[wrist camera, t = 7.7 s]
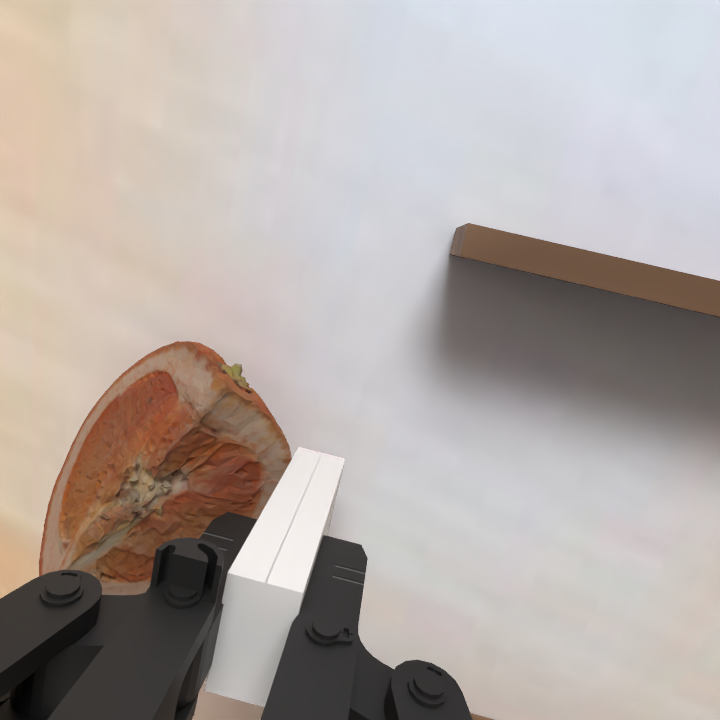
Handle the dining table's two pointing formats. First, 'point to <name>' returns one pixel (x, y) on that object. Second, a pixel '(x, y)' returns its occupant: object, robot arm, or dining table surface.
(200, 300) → the dining table surface
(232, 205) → the dining table surface
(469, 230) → the walnut open frame
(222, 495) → the fruit slice
